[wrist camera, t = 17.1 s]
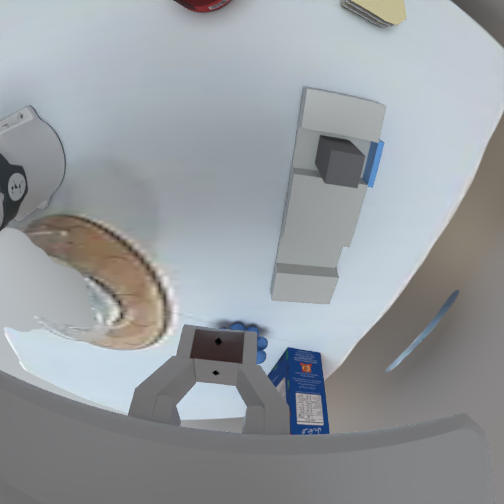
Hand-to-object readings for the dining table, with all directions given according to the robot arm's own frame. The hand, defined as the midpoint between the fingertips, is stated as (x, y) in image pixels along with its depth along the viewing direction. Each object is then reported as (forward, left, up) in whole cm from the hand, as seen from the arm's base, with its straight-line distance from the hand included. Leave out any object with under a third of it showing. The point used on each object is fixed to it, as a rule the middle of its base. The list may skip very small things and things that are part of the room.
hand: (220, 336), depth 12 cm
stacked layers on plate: (+13, +22, -32) cm, 40 cm away
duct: (+11, -9, -31) cm, 34 cm away
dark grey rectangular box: (+11, 0, -30) cm, 32 cm away
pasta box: (+13, -57, -31) cm, 67 cm away
